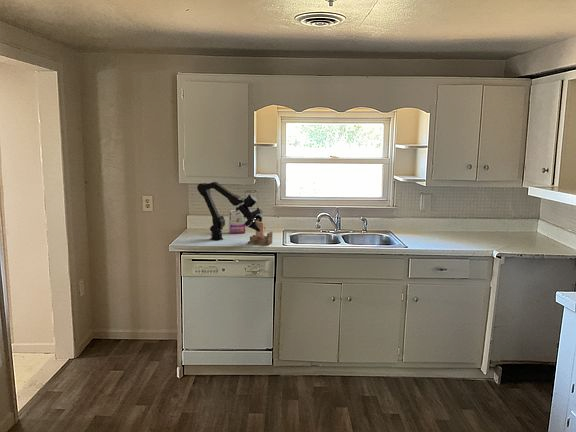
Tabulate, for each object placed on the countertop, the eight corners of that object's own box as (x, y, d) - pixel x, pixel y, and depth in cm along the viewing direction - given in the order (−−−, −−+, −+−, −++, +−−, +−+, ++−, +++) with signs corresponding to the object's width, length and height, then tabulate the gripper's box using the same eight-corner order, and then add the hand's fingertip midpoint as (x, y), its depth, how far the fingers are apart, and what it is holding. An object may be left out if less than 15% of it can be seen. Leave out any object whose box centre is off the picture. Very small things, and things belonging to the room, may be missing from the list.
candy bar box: (243, 232, 345) (243, 209, 343) (245, 233, 341) (245, 210, 338) (228, 232, 341) (228, 210, 338) (230, 234, 336) (230, 211, 334)
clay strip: (255, 241, 308) (255, 221, 306) (256, 241, 310) (257, 221, 308) (262, 242, 306) (263, 222, 304) (264, 241, 309) (264, 222, 307)
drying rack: (247, 243, 307) (247, 232, 306) (252, 241, 314) (252, 230, 313) (268, 245, 303) (268, 233, 302) (272, 242, 310) (272, 231, 309)
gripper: (249, 205, 297) (266, 224, 296) (259, 202, 315) (275, 219, 313) (237, 217, 300) (253, 235, 299) (248, 213, 318) (263, 230, 317)
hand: (262, 230), depth 307 cm, fingers open, 9 cm apart
